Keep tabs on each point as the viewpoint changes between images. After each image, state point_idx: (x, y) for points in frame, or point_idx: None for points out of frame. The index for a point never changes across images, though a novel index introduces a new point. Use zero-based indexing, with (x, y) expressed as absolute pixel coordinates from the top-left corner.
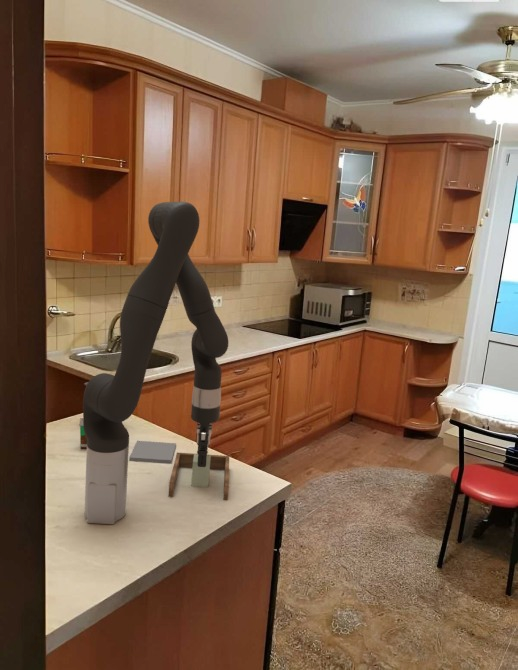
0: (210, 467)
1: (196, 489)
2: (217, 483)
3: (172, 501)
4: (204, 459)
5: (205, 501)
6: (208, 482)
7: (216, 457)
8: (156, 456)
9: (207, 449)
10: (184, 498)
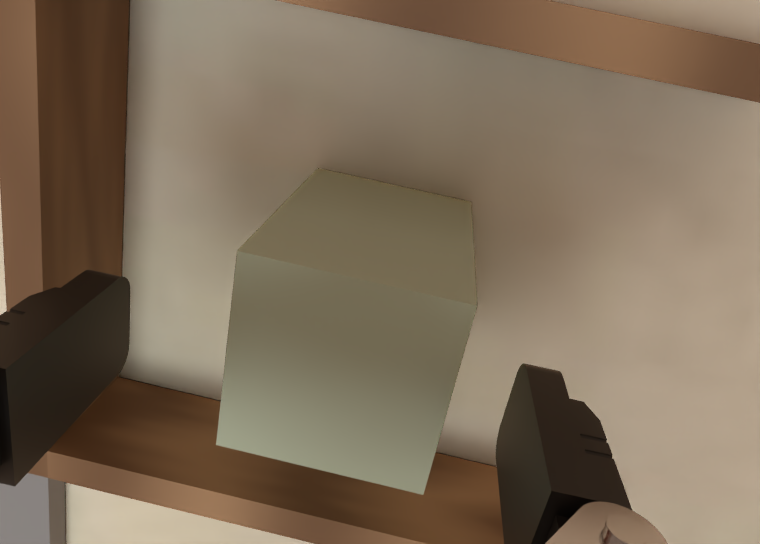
0: (116, 124)
1: (503, 306)
2: (412, 98)
3: (659, 497)
4: (618, 478)
5: (730, 268)
6: (393, 185)
7: (44, 80)
8: (4, 524)
9: (102, 289)
10: (635, 416)
